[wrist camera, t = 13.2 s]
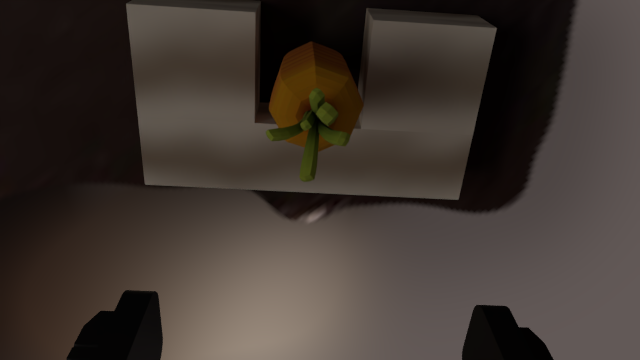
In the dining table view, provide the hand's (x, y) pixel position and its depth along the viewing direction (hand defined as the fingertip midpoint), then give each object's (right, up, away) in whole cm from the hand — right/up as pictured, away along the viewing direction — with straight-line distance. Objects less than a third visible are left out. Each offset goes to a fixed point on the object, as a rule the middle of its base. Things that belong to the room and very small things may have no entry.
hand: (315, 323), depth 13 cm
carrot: (-1, +12, +23) cm, 26 cm away
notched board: (-1, +10, +24) cm, 26 cm away
